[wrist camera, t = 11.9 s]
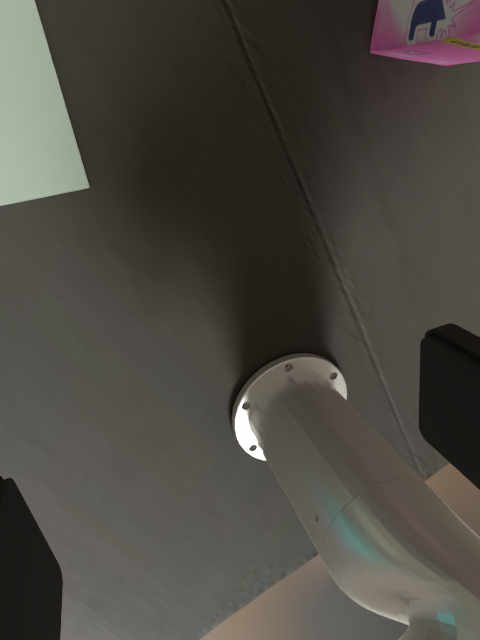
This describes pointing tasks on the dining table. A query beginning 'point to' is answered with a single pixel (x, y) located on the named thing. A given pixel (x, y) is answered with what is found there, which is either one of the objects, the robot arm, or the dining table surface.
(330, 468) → the robot arm
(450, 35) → the gum box
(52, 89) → the mat
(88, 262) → the dining table surface
